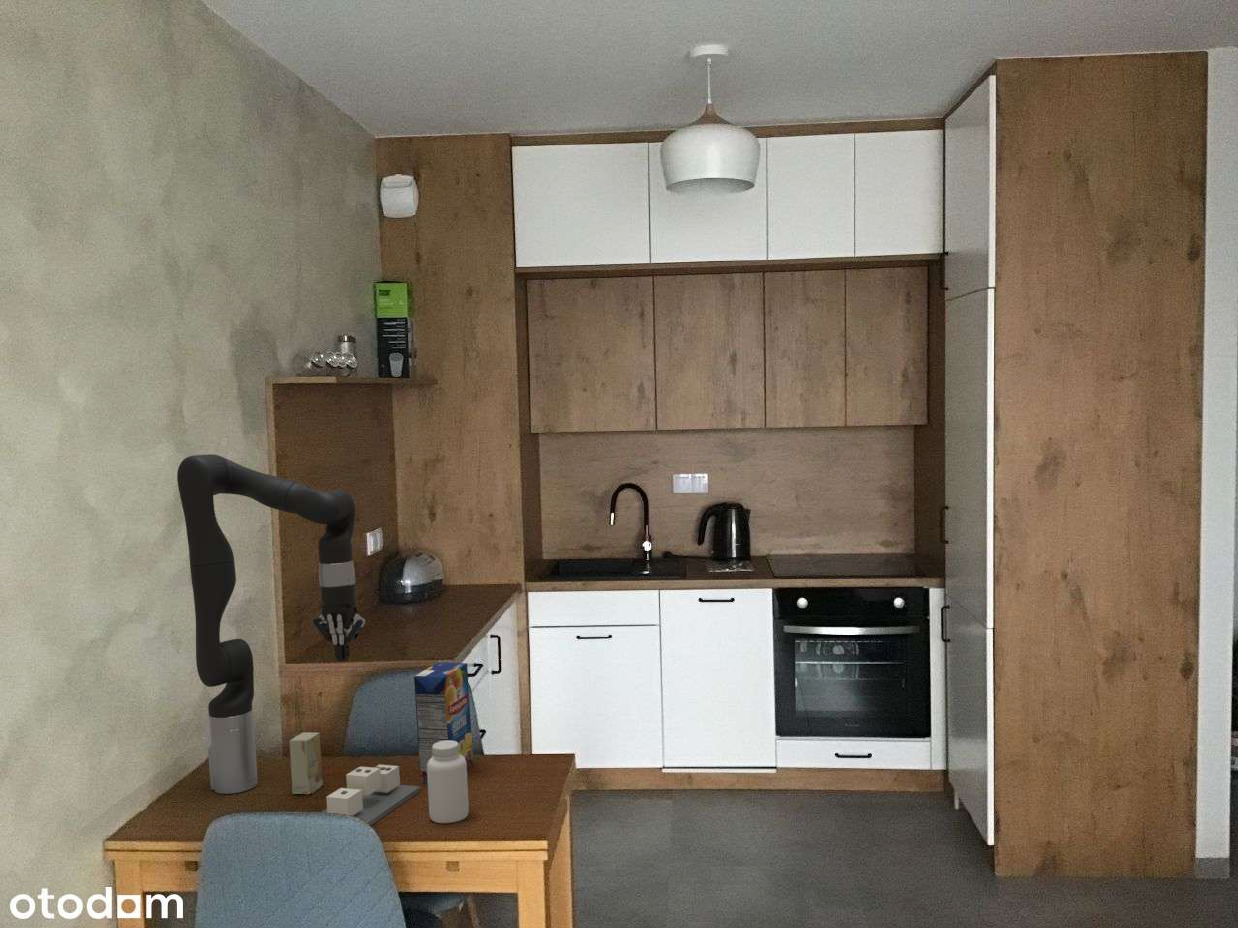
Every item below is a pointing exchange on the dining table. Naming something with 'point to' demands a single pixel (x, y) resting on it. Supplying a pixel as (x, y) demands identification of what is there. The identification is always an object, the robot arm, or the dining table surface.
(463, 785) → the pill bottle
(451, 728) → the juice carton
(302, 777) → the skincare box
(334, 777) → the dining table surface
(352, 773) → the key
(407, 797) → the grey rectangular board
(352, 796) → the key
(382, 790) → the key
